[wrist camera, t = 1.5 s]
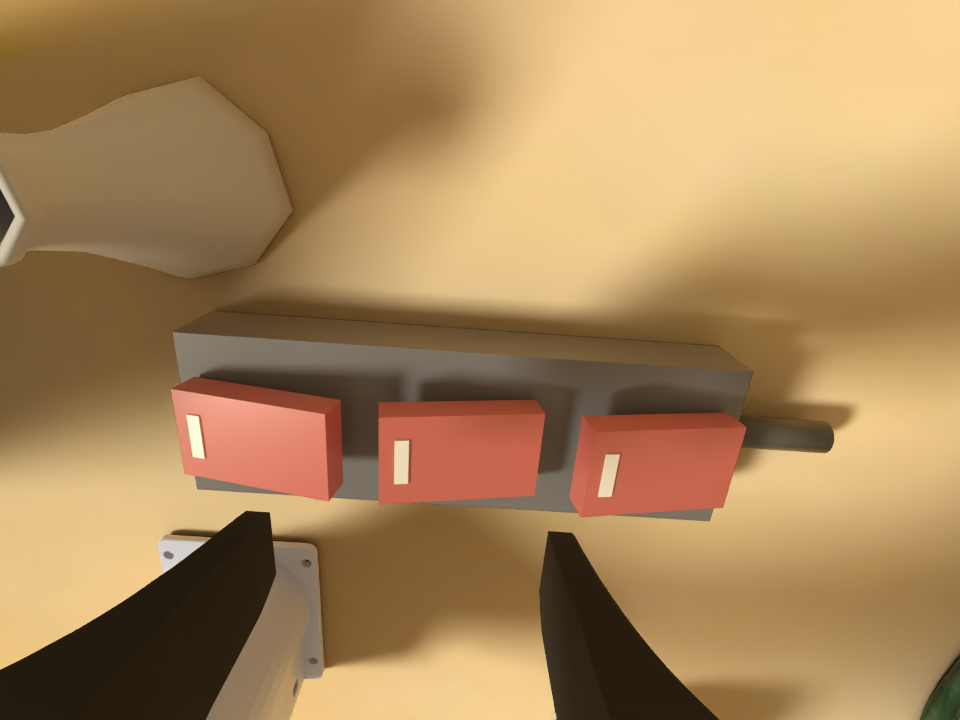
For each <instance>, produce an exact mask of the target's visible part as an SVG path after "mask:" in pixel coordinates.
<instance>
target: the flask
mask: <svg viewBox="0 0 960 720" xmlns="http://www.w3.org/2000/svg"><path fill="white" fill-rule="evenodd" d="M292 211H293V209H292V206H291V203H290V200H289V197H288V194H287V191H286V188H285V185H284V182H283V179H282V176H281V173H280V170H279V167H278V164H277V161H276V158H275V155H274V152H273V149H272V146H271V142H270V139H269V136H268V133H267V132H266V131H264V130H263V129H262V128H261V127H260V126H259V125H257V124H256V123H255V122H254V121H253V120H251V119H250V118H249V117H248V116H247V115H246V114H244V113H243V112H242V111H241V110H240V109H239V108H237V107H236V106H235V105H234V104H233V103H231V102H230V101H229V100H228V99H227V98H226V97H224V96H223V95H222V94H221V93H220V92H218V91H217V90H216V89H215V88H214V87H213V86H211V85H210V84H209V83H208V82H207V81H205V80H204V79H203V78H202V77H201V76H198V77H194V78H190V79H186V80H182V81H178V82H174V83H170V84H166V85H162V86H158V87H154V88H150V89H146V90H142V91H138V92H134V93H130V94H127V95H124V96H122V97H120V98H117V99H115V100H113V101H111V102H110V103H108V104H106V105H104V106H102V107H100V108H98V109H96V110H94V111H92V112H91V113H89V114H87V115H85V116H83V117H80V118H78V119H76V120H73V121H71V122H68V123H66V124H64V125H61V126H59V127H57V128H54V129H52V130H45V131H39V132H33V133H26V134H17V133H0V267H5V266H9V265H13V264H16V263H18V262H20V261H22V260H23V258H24V256H25V254H26V252H27V251H29V250H41V251H76V252H87V253H91V254H95V255H100V256H104V257H108V258H112V259H117V260H121V261H125V262H129V263H134V264H138V265H142V266H145V267H148V268H152V269H155V270H158V271H162V272H165V273H168V274H172V275H175V276H179V277H183V278H187V279H192V278H197V277H201V276H206V275H211V274H215V273H220V272H224V271H229V270H233V269H238V268H242V267H247V266H252V265H255V263H256V262H257V261H258V259H259V258H260V256H261V255H262V254H263V252H264V251H265V249H266V248H267V246H268V245H269V244H270V242H271V241H272V239H273V238H274V237H275V235H276V234H277V232H278V231H279V230H280V228H281V227H282V225H283V224H284V223H285V221H286V220H287V218H288V217H289V215H290V214H291V213H292Z"/></svg>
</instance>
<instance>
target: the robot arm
mask: <svg viewBox="0 0 960 720" xmlns="http://www.w3.org/2000/svg"><path fill="white" fill-rule="evenodd" d="M158 550H159V555H160V560H161V565H162V570H163V574H162V575H161V576H159V577H158V578H157V579H155V580H154V581H152V582H151V583H149V584H148V585H147V586H145V587H144V588H142V589H141V590H139V591H138V592H137V593H135V594H134V595H132V596H131V597H129V598H128V599H126V600H125V601H123V602H122V603H120V604H118V605H117V606H115V607H114V608H112V609H110V610H109V611H107V612H106V613H104V614H102V615H101V616H99V617H97V618H96V619H94V620H92V621H91V622H89V623H87V624H86V625H84V626H82V627H81V628H79V629H77V630H75V631H74V632H72V633H70V634H68V635H66V636H64V637H62V638H61V639H59V640H57V641H55V642H53V643H51V644H49V645H48V646H46V647H44V648H42V649H40V650H38V651H36V652H35V653H33V654H31V655H29V656H27V657H25V658H23V659H21V660H19V661H17V662H15V663H13V664H11V665H9V666H7V667H5V668H3V669H1V670H0V720H290V717H291V714H292V711H293V708H294V706H295V703H296V700H297V697H298V694H299V691H300V688H301V686H302V683H303V680H304V679H318V678H321V676H322V675H323V672H324V652H323V635H322V617H321V599H320V582H319V564H318V551H317V548H316V547H315V546H314V545H312V544H309V543H297V542H280V541H273V538H272V529H271V519H270V513H269V512H254V511H245V512H244V513H243V514H241V515H240V516H239V517H237V518H236V519H235V520H234V521H232V522H231V523H230V524H228V525H227V526H226V527H225V528H223V529H222V530H221V531H219V532H218V533H217V534H216V535H214V536H213V537H198V536H181V535H165V536H163V537H162V539H161V540H160V541H159V542H158ZM170 552H171V553H170ZM305 559H307V560H309V561H310V562H308V561H306V560H305ZM539 594H540V612H541V627H542V636H543V642H544V648H545V654H546V660H547V666H548V672H549V678H550V683H551V689H552V695H553V701H554V707H555V713H556V718H557V720H719V719H718V718H717V717H716V716H715V715H714V714H713V713H712V712H711V711H710V710H709V709H708V708H707V707H706V706H704V705H703V704H702V703H701V702H700V701H699V700H698V699H697V698H696V697H695V696H694V695H693V694H692V693H691V692H690V691H689V690H688V689H687V688H686V687H685V686H684V685H683V684H682V683H681V682H680V681H679V680H678V678H677V677H676V676H675V675H674V674H673V673H672V672H671V671H670V670H669V669H668V668H667V667H666V665H665V664H664V663H663V662H662V661H661V660H660V659H659V657H658V656H657V655H656V654H655V653H654V652H653V650H652V649H651V648H650V647H649V646H648V644H647V643H646V642H645V641H644V639H643V638H642V637H641V636H640V634H639V633H638V632H637V631H636V629H635V628H634V627H633V625H632V624H631V623H630V621H629V620H628V619H627V617H626V616H625V615H624V613H623V612H622V611H621V609H620V608H619V606H618V605H617V604H616V602H615V601H614V599H613V598H612V596H611V595H610V593H609V592H608V590H607V589H606V587H605V586H604V584H603V583H602V581H601V580H600V578H599V577H598V575H597V573H596V572H595V570H594V568H593V567H592V565H591V564H590V562H589V560H588V559H587V557H586V555H585V553H584V552H583V550H582V548H581V546H580V545H579V543H578V541H577V539H576V537H575V536H574V535H573V534H572V533H565V532H550V531H548V537H547V543H546V550H545V557H544V563H543V570H542V577H541V583H540V590H539Z"/></svg>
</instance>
